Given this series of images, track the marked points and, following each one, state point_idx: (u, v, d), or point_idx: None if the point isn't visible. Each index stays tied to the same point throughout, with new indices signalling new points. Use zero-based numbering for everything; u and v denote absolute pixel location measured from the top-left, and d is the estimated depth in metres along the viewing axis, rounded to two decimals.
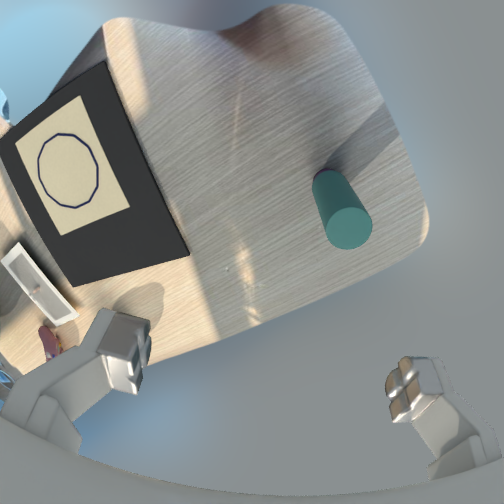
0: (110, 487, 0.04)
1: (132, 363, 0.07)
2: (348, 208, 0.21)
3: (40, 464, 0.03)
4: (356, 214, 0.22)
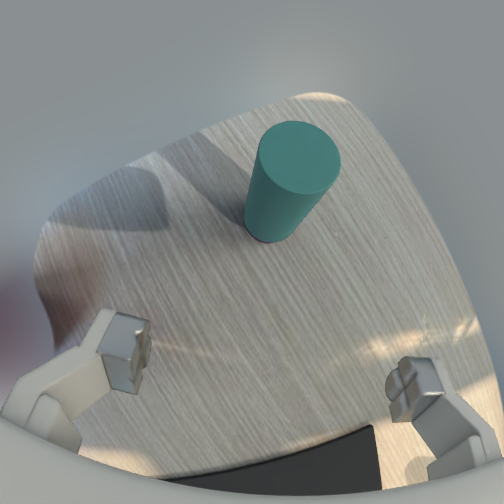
0: (110, 487, 0.04)
1: (132, 363, 0.07)
2: (260, 156, 0.12)
3: (40, 464, 0.03)
4: (272, 144, 0.12)
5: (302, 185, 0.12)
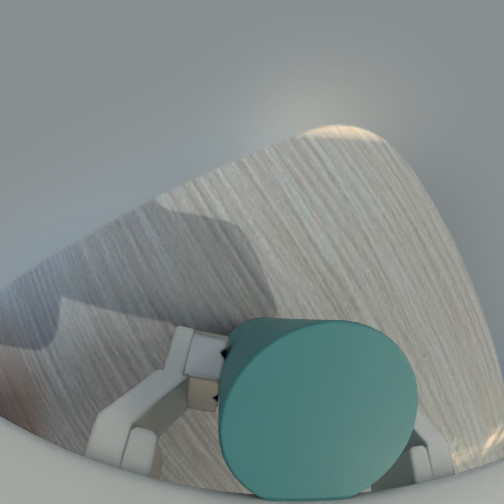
0: (110, 487, 0.04)
1: None
2: (225, 446, 0.04)
3: (40, 464, 0.03)
4: (257, 408, 0.04)
5: (322, 493, 0.04)
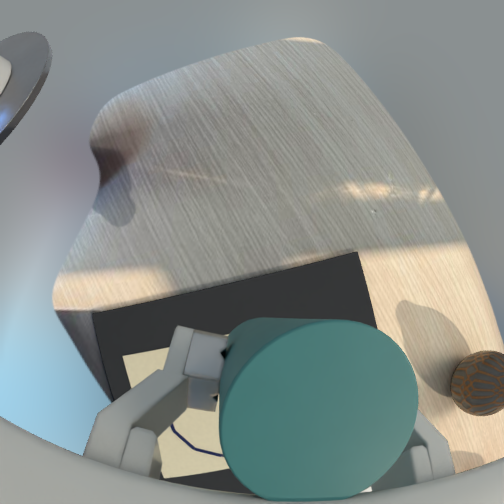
0: (110, 487, 0.04)
1: None
2: (225, 444, 0.04)
3: (40, 464, 0.03)
4: (257, 408, 0.04)
5: (323, 493, 0.04)
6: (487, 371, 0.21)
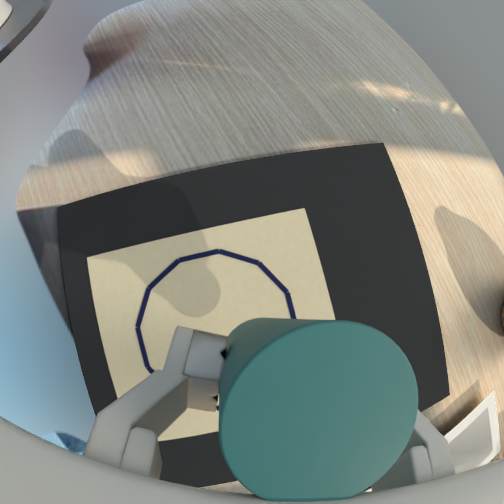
0: (110, 487, 0.04)
1: None
2: (224, 446, 0.04)
3: (40, 464, 0.03)
4: (257, 408, 0.04)
5: (323, 493, 0.04)
6: None
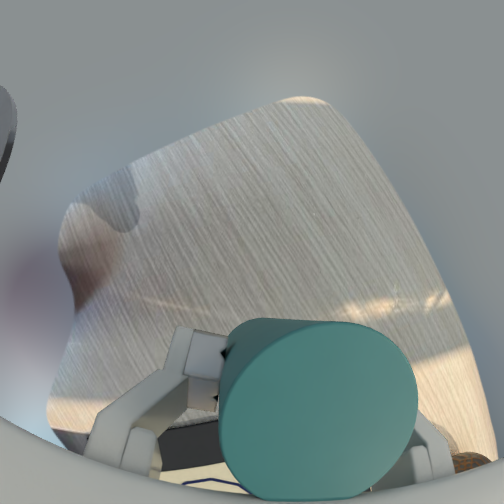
0: (110, 487, 0.04)
1: None
2: (224, 447, 0.04)
3: (40, 464, 0.03)
4: (257, 410, 0.04)
5: (322, 494, 0.04)
6: None
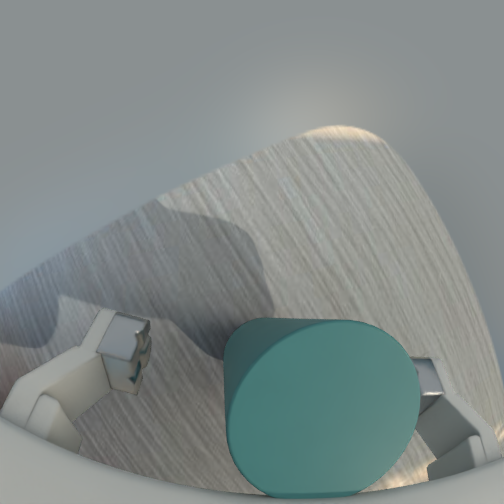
0: (110, 487, 0.04)
1: (132, 363, 0.07)
2: (231, 443, 0.04)
3: (40, 464, 0.03)
4: (264, 406, 0.04)
5: (327, 490, 0.04)
6: None
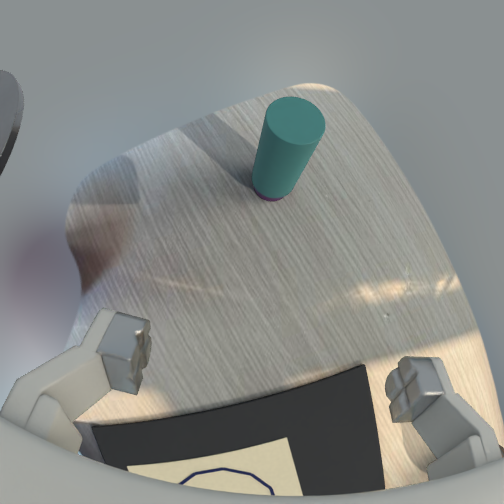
0: (110, 487, 0.04)
1: (132, 363, 0.07)
2: (267, 120, 0.17)
3: (40, 464, 0.03)
4: (275, 111, 0.17)
5: (297, 139, 0.17)
6: None
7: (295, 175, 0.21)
